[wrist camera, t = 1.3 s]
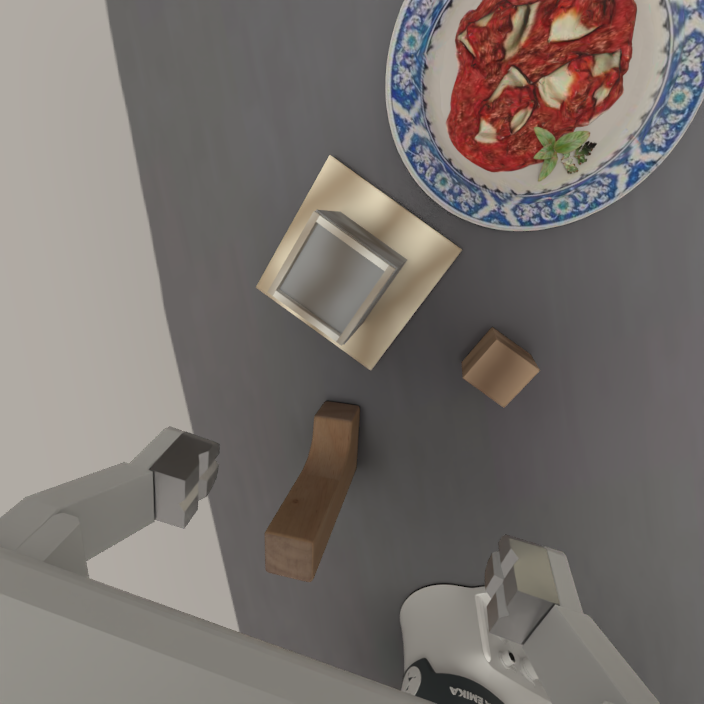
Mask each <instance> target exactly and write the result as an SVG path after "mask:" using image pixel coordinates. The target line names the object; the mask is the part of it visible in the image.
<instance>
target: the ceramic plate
mask: <svg viewBox="0 0 704 704" xmlns="http://www.w3.org/2000/svg"><path fill="white" fill-rule="evenodd" d="M385 92H386V106H387V113H388V119H389V124H390V128H391V132H392V136H393V139H394V141H395V144H396V147H397V150H398V152H399V154H400V156H401V158H402V160H403V163H404V164H405V166H406V167H407V169H408V170H409V172H410V174H411V175H412V177H413V178H414V180H415V181H416V182H417V184H418V185H419V186H420V187H421V188H422V189H423V190H424V191H425V193H426V194H427V195H428V196H429V197H431V198H432V199H433V200H434V201H435V202H437V203H438V204H439V205H440V206H442V207H443V208H445V209H446V210H447V211H449V212H451V213H452V214H454V215H456V216H458V217H460V218H462V219H464V220H467V221H469V222H472V223H474V224H477V225H481V226H484V227H488V228H493V229H498V230H508V231H532V230H542V229H547V228H552V227H557V226H561V225H565V224H568V223H572V222H574V221H577V220H580V219H582V218H585V217H587V216H589V215H592V214H594V213H596V212H598V211H600V210H602V209H604V208H605V207H607V206H609V205H610V204H612V203H613V202H615V201H617V200H618V199H620V198H622V197H623V196H624V195H626V194H627V193H629V192H630V191H631V190H633V189H634V188H635V187H636V186H637V185H639V184H640V183H641V182H642V181H643V180H645V179H646V178H647V177H648V176H649V175H650V174H651V173H652V172H653V171H654V170H655V169H656V168H657V167H658V166H659V165H660V164H661V163H662V162H663V160H664V159H665V158H666V157H667V156H668V155H669V153H670V152H671V151H672V150H673V148H674V147H675V146H676V144H677V143H678V142H679V140H680V139H681V138H682V136H683V135H684V133H685V131H686V130H687V128H688V127H689V125H690V123H691V122H692V120H693V118H694V116H695V114H696V112H697V111H698V109H699V107H700V105H701V103H702V101H703V99H704V0H404V2H403V5H402V7H401V9H400V12H399V15H398V18H397V21H396V23H395V27H394V30H393V34H392V38H391V42H390V47H389V52H388V58H387V67H386V89H385Z"/></svg>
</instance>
